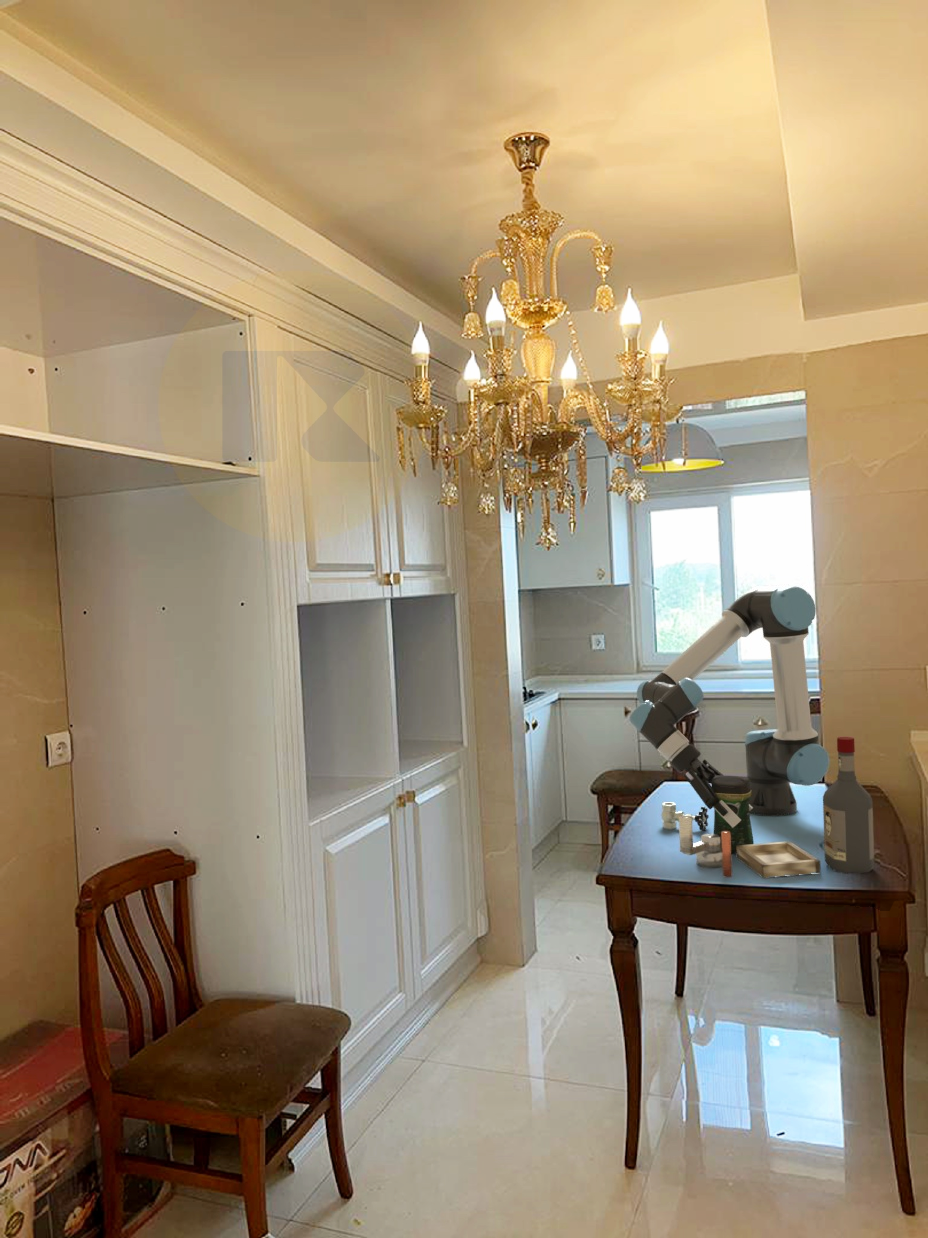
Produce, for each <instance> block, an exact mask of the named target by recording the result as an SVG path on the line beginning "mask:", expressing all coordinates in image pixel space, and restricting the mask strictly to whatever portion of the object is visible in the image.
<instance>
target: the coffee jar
mask: <svg viewBox="0 0 928 1238" xmlns="http://www.w3.org/2000/svg"><path fill="white" fill-rule="evenodd" d="M711 787H712V789H713V790H714V792H715V794H716V795H717V797H718V799H719V800H720V801H721V800H722V801H723V802H724V803H725V804H726V805H727V806H728V807H729V808H730V809H731V810H732V811H733V812H734V813H735V814H736V815H737V816H738V817H739V818H740V819H741V821H740V822H739V823H738V824H737V825H736V826H734V827H733V828H732V827H731V825H730V824H729V823H728V822H727V821H726V820H725V819H724V818H723V817H722V816H721V815H720V814H719V813H718V812H717V811H716V810H715V809H714V808H713V813H714V818H713V834H716V835H719V836H720V843H721V848H722V837H721V832H722V831H729V832H730V834H731V854H737V850H736V846H737V845H749V844H755V843H754V842H755V841H754V834H753V829H752V823H751V813H749V799H750V797H751V786H750V781H749V778H748V777H747V776H744V775H743V776H742V775H741V776H739V775H724V774H723V775H717V776H715V777H714V778H713V779H712V784H711ZM720 801H719V802H720Z"/></svg>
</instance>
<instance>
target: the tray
mask: <svg viewBox="0 0 928 1238" xmlns="http://www.w3.org/2000/svg"><path fill="white" fill-rule="evenodd" d="M736 850H737V853H736V859H738V860H739V861H741V862H742V863H743V864H744V865H745V866H747V867H749V868H750V869H751V870H752V871H753V870H754V871H753V872H755V873H756V874H757V873H758V874H757V875H759V876H760V875H761V876H762V877H761V876H760V877H761V878H762V879H769V878H768V877H775V876H785V875H799V874H811V873H821V871H822V870H821V860H820V859H818V858H817V857H815V856H814V855H812V854H811V853H809V852H808V851H806V850H804V849H803V848H801V847H799V846H798V845H796V844H795V843H794V842H791V841H790V840H789V841H775V842H765V843H754V844H749V845H737V846H736ZM821 874H822V873H821ZM799 876H800V875H799ZM775 878H776V877H775Z"/></svg>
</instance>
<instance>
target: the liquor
mask: <svg viewBox="0 0 928 1238" xmlns="http://www.w3.org/2000/svg"><path fill="white" fill-rule="evenodd" d="M855 747H856V746H855V737H850V736H838V737H837V738H836V750H837V753H838V754H837V758H838V759H837V760H838V761H837V765H838V769H837V771H838V773H837V775H836V778H837V779H836V780H835V781H834V782H833V783H832V784H831V785H830V786H829V787H828V788H827V789H826V790H825V791H824V793H823V795H822V810H823V811H822V812H823V837H824V839H823V842H824V862H825V863H826V865H827V866H828V867H829V866H830V868H831V869H832V870H833V869H834V870H833V871H834V872H837V873H841V872H842V873H843V874H846V873H847V874H848V873H851V874H866V873H870V872H871V871H872V870H873V869H874V867H875V843H874V841H875V838H874V809H873V807H874V806H873V804H874V803H873V799H872V796H871V794H870V793H869V792H868V791H867V789H865V788H864V787H863V785H862V784H860V782H859V781H858V780H857V776H856V769H855V766H856V765H855V752H856V750H855V749H856V748H855ZM842 873H841V874H842ZM848 875H849V874H848Z"/></svg>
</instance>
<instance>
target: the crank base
mask: <svg viewBox="0 0 928 1238" xmlns="http://www.w3.org/2000/svg"><path fill="white" fill-rule="evenodd" d="M721 837H722V848H721V850H720V851H717V852H707V851H702V852H699V853H696V854H695V857H696V865H697V866H699V867H701V868H706V869H720V868H722V876H723V877H724V876H725V877H726V878H731V877H733V869H732V867H733V866H732V865H733V863H732V853H731V834H730V832H729V831H722V832H721ZM725 877H724V878H725Z"/></svg>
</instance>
